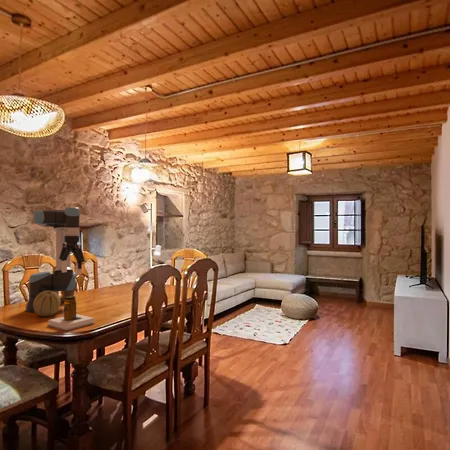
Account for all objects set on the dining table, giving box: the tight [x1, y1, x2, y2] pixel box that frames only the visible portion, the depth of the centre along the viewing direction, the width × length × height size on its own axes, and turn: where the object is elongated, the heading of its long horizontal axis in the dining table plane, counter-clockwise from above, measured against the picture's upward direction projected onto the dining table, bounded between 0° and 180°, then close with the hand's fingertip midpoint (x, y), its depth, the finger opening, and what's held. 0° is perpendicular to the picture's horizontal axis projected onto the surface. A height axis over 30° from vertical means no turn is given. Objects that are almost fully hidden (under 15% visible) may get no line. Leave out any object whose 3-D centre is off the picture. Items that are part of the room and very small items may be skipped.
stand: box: [47, 313, 95, 332], centre depth 186 cm, size 17×17×3 cm
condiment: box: [61, 295, 80, 321], centre depth 186 cm, size 7×8×12 cm
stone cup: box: [59, 280, 78, 303], centre depth 248 cm, size 15×12×15 cm
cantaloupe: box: [33, 291, 62, 317], centre depth 205 cm, size 15×15×15 cm
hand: (71, 273), depth 194 cm, fingers open, 13 cm apart
